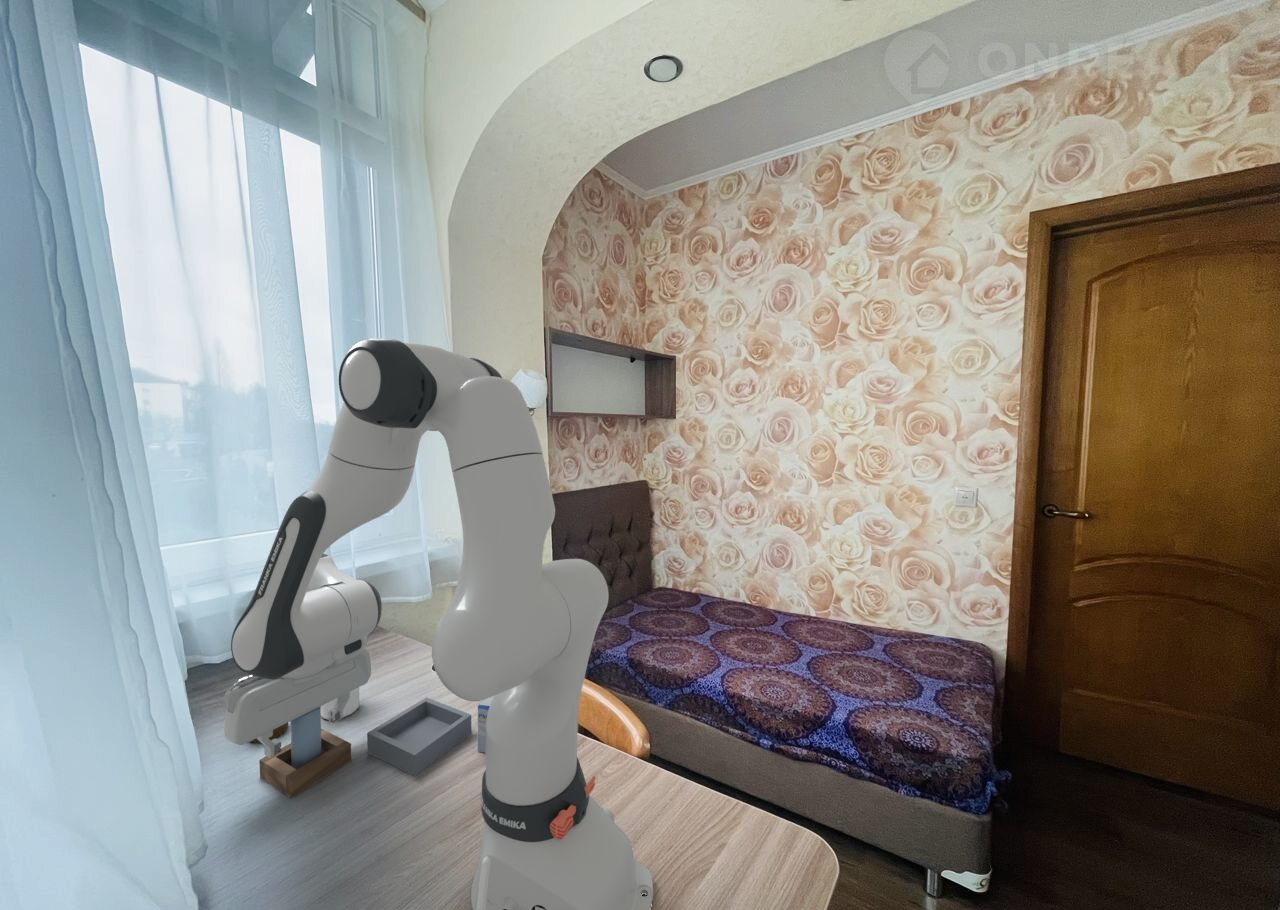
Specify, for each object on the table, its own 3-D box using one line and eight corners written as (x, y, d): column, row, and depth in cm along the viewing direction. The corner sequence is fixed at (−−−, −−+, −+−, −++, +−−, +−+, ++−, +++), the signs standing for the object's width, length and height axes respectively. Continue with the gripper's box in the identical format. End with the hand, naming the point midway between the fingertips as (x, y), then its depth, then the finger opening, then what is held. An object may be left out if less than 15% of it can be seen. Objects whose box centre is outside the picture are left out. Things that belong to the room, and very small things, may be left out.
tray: (471, 732, 85) (471, 714, 85) (414, 775, 74) (414, 755, 74) (426, 714, 90) (426, 697, 90) (367, 752, 80) (367, 732, 79)
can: (340, 723, 87) (339, 662, 87) (312, 718, 89) (311, 658, 88) (367, 703, 94) (366, 646, 93) (340, 699, 95) (339, 643, 94)
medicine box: (499, 724, 88) (499, 680, 87) (521, 728, 87) (521, 683, 86) (476, 752, 80) (476, 704, 80) (500, 756, 79) (500, 708, 79)
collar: (351, 760, 78) (350, 743, 77) (291, 798, 70) (291, 779, 69) (319, 743, 82) (319, 727, 81) (259, 777, 73) (259, 759, 73)
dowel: (326, 765, 76) (325, 707, 76) (300, 781, 73) (299, 720, 72) (312, 757, 78) (311, 700, 78) (286, 772, 75) (284, 713, 74)
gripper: (235, 690, 64) (238, 786, 65) (376, 633, 82) (377, 708, 83) (213, 679, 67) (216, 771, 67) (354, 626, 85) (355, 699, 86)
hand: (306, 736), depth 75 cm, fingers open, 8 cm apart
